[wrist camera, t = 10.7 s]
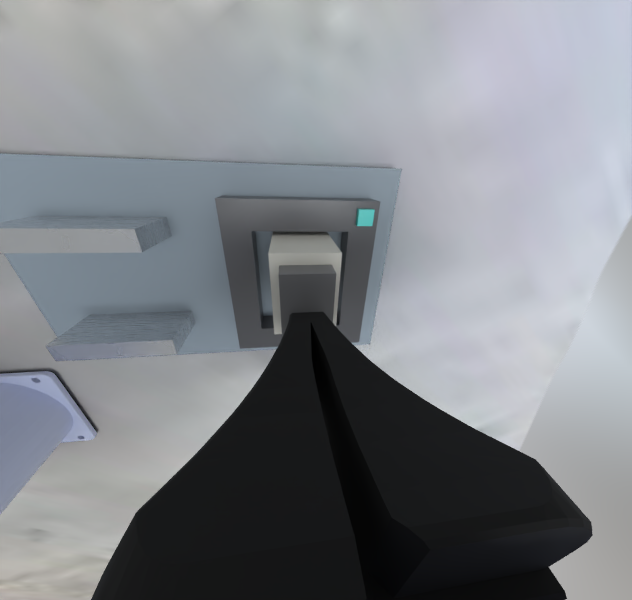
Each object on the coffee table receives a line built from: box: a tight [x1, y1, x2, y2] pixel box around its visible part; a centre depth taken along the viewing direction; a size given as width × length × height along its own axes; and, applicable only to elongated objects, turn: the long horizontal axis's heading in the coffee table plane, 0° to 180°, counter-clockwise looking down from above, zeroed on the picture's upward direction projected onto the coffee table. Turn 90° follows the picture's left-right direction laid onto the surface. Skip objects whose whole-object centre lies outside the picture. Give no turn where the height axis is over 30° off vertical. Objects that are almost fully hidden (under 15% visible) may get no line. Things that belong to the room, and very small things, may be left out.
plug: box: [268, 231, 342, 337], centre depth 12 cm, size 3×4×6 cm
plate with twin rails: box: [0, 216, 195, 361], centre depth 12 cm, size 6×7×3 cm
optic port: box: [215, 195, 380, 349], centre depth 14 cm, size 8×9×2 cm
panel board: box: [0, 153, 402, 360], centre depth 14 cm, size 21×12×1 cm, turn 88°
